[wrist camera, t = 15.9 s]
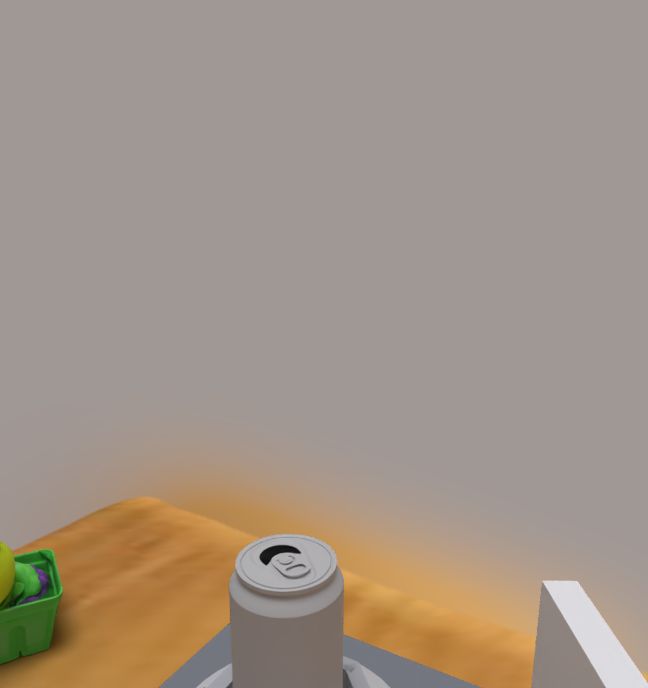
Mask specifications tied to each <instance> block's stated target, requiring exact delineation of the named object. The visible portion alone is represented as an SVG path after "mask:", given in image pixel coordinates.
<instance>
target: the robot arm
mask: <svg viewBox="0 0 648 688" xmlns="http://www.w3.org/2000/svg"><path fill="white" fill-rule="evenodd" d="M531 688H648V683H647V682H646V680H645V679H644V677H643V676H642V674H641V673H640V671H639V670H638V669H637V667H636V666H635V664H634V663H633V661H632V660H631V658H630V657H629V655H628V654H627V653H626V651H625V650H624V648H623V647H622V645H621V644H620V642H619V641H618V640H617V638H616V637H615V635H614V634H613V632H612V631H611V629H610V628H609V626H608V625H607V624H606V622H605V621H604V619H603V618H602V616H601V615H600V613H599V612H598V611H597V609H596V608H595V606H594V605H593V603H592V602H591V600H590V599H589V597H588V596H587V595H586V593H585V592H584V590H583V589H582V587H581V586H580V585H579V583H578V581H542V587H541V597H540V607H539V618H538V627H537V637H536V647H535V657H534V667H533V677H532V687H531Z"/></svg>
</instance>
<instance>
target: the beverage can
mask: <svg viewBox="0 0 648 688" xmlns="http://www.w3.org/2000/svg"><path fill="white" fill-rule="evenodd" d="M229 597H230V625H231V653H232V681H233V688H343V605H344V579H343V575H342V572H341V570H340V569H339V567H338V566H337V557H336V554H335V552H334V551H333V550H332V548H331V547H330V546H329V545H327V544H326V543H324V542H323V541H320V540H319V539H316V538H313V537H310V536H305V535H299V534H280V535H273V536H269V537H265V538H262V539H259V540H256V541H254V542H252V543H250V544H249V545H247V546H246V547H245V548H244V549H243V550H242V551H241V552H240V553H239V555H238V556H237V559H236V562H235V571H234V572H233V574H232V576H231V578H230V582H229Z"/></svg>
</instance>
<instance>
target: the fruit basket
mask: <svg viewBox="0 0 648 688" xmlns="http://www.w3.org/2000/svg"><path fill="white" fill-rule="evenodd" d="M62 592H63V588H62V585H61V581H60V576H59V572H58V568H57V564H56V559H55V554H54V552H53V551H52V550H49V549H42V550H37V551H33V552H29V553H25V554H21V555H16V556H14V554H13V552H12V551H11V549H10V548H9V547H8V546H6V545H5V544H4V543H3V542H1V541H0V664H3V663H6V662H9V661H12V660H14V659H16V658H19V657H20V656H21V655H22V656H27V655H32V654H35V653H38V652H41V651H44V650H47V649H48V648H49V647H50V643H51V638H52V633H53V627H54V622H55V617H56V612H57V607H58V604H59V602H60V600H61V597H62Z"/></svg>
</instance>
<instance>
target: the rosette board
mask: <svg viewBox="0 0 648 688" xmlns="http://www.w3.org/2000/svg"><path fill="white" fill-rule="evenodd" d="M159 688H233V681H232V653H231V625H230V623H229V624H228V625H227V626H226V627H225V628H224V629H223V630H222V631H220V632H219V633H218V634H217V635H216V636H215V637H214V638H213V639H212V640H211V641H209V642H208V643H207V644H206V645H205V646H204V647H203V648H202V649H201V650H200V651H198V652H197V653H196V654H195V655H194V656H193V657H192V658H191V659H190V660H188V661H187V662H186V663H185V664H184V665H183V666H182V667H181V668H180V669H179V670H177V671H176V672H175V673H174V674H173V675H172V676H171V677H170V678H169V679H168V680H166V681H165V682H164V683H163V684H162V685H161V686H160V687H159ZM343 688H481V687H478V686H476V685H473V684H471V683H468V682H465V681H463V680H460V679H458V678H455V677H453V676H450V675H447V674H445V673H442V672H440V671H437V670H434V669H432V668H429V667H427V666H424V665H422V664H419V663H416V662H414V661H411V660H409V659H406V658H403V657H401V656H398V655H396V654H393V653H390V652H388V651H385V650H383V649H380V648H378V647H375V646H372V645H370V644H367V643H365V642H362V641H359V640H357V639H354V638H352V637H349V636H346V635H344V634H343Z"/></svg>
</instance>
